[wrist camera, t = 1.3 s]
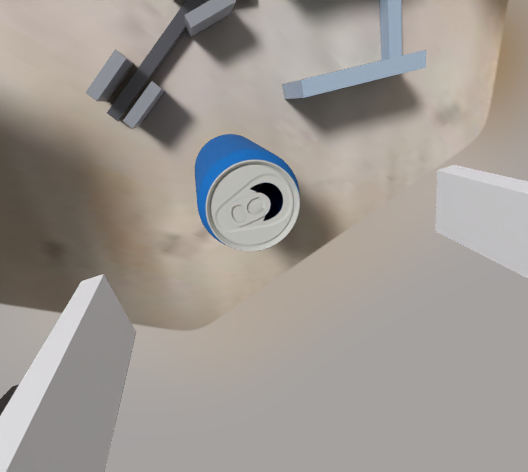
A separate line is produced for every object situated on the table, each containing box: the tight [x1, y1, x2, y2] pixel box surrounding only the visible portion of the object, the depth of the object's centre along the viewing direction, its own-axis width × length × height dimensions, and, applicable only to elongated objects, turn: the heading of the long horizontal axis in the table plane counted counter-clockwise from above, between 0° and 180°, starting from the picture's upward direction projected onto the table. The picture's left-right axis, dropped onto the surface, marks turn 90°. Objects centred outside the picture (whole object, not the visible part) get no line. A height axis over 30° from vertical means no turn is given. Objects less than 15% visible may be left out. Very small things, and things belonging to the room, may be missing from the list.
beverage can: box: [195, 134, 300, 251], centre depth 23 cm, size 6×6×12 cm
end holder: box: [283, 0, 426, 99], centre depth 23 cm, size 11×10×5 cm
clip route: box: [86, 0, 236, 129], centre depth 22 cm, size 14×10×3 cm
